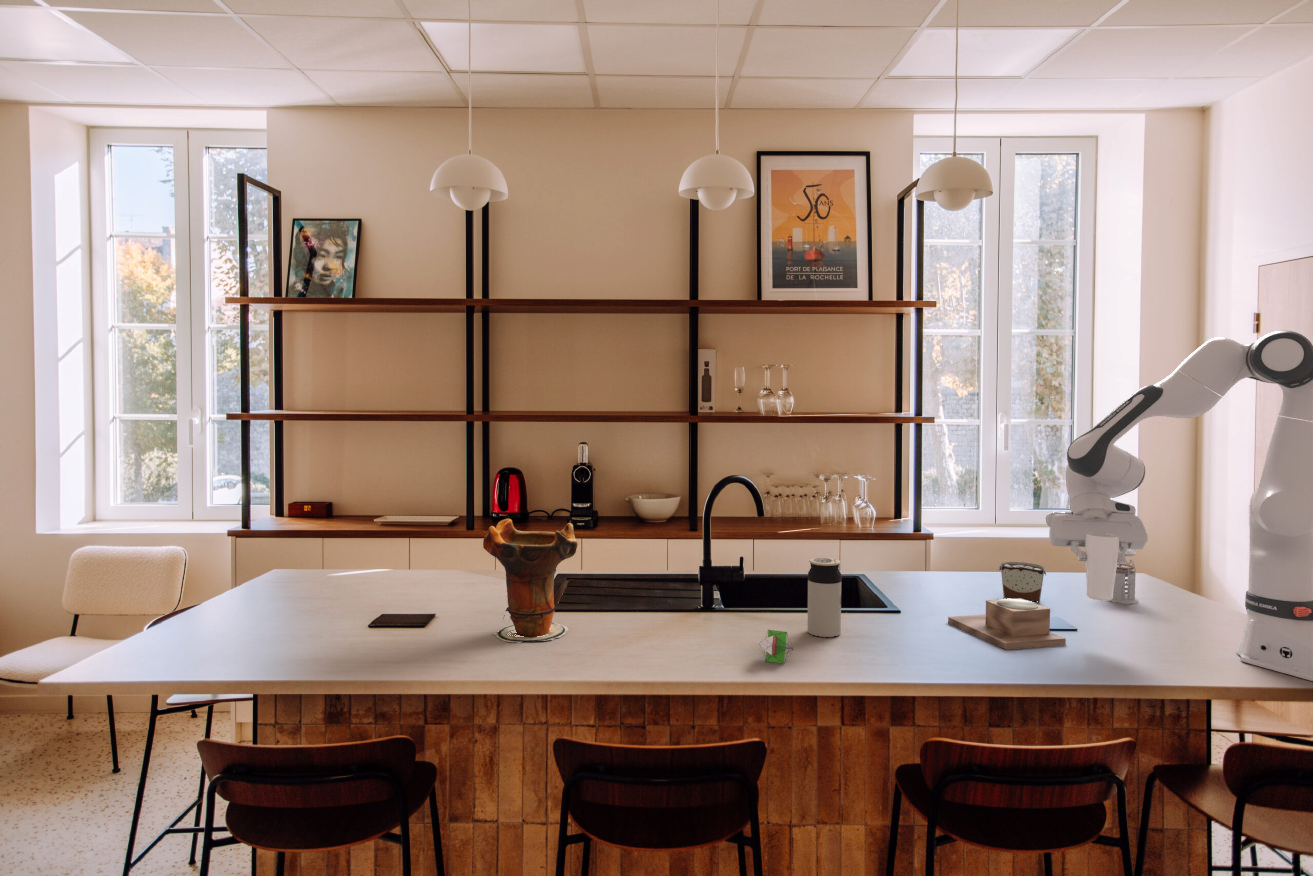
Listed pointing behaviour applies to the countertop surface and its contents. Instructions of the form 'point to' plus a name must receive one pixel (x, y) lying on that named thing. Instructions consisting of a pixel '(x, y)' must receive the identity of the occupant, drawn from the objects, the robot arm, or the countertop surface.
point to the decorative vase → (530, 577)
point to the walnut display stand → (1011, 624)
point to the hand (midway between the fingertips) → (1101, 560)
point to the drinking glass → (1101, 565)
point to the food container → (1022, 580)
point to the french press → (1120, 584)
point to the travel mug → (824, 597)
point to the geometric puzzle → (775, 646)
